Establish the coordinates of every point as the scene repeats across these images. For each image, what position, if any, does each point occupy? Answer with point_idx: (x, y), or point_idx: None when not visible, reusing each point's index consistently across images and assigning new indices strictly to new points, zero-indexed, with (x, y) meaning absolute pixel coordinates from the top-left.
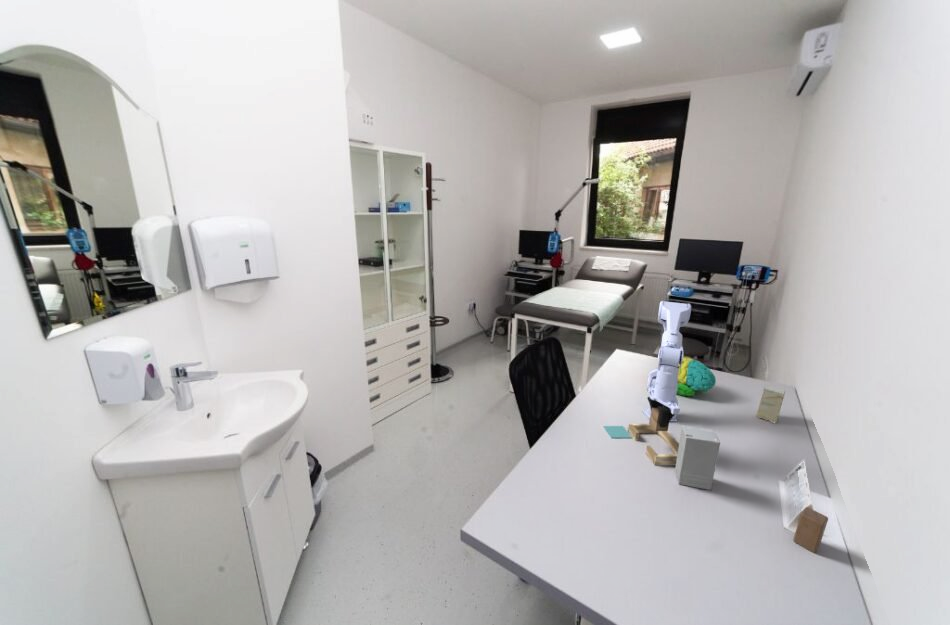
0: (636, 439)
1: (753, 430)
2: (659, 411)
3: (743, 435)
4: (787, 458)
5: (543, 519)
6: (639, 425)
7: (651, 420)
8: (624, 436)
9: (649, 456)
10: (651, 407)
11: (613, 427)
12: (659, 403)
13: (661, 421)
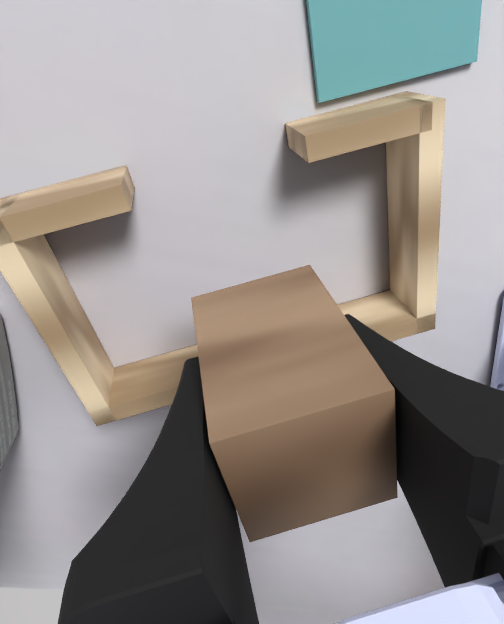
0: (288, 134)
1: (408, 577)
2: (171, 507)
3: (378, 557)
4: (261, 615)
5: None
6: (418, 190)
7: (296, 303)
8: (326, 36)
9: (70, 183)
10: (415, 382)
11: None
12: (435, 513)
13: (169, 413)
